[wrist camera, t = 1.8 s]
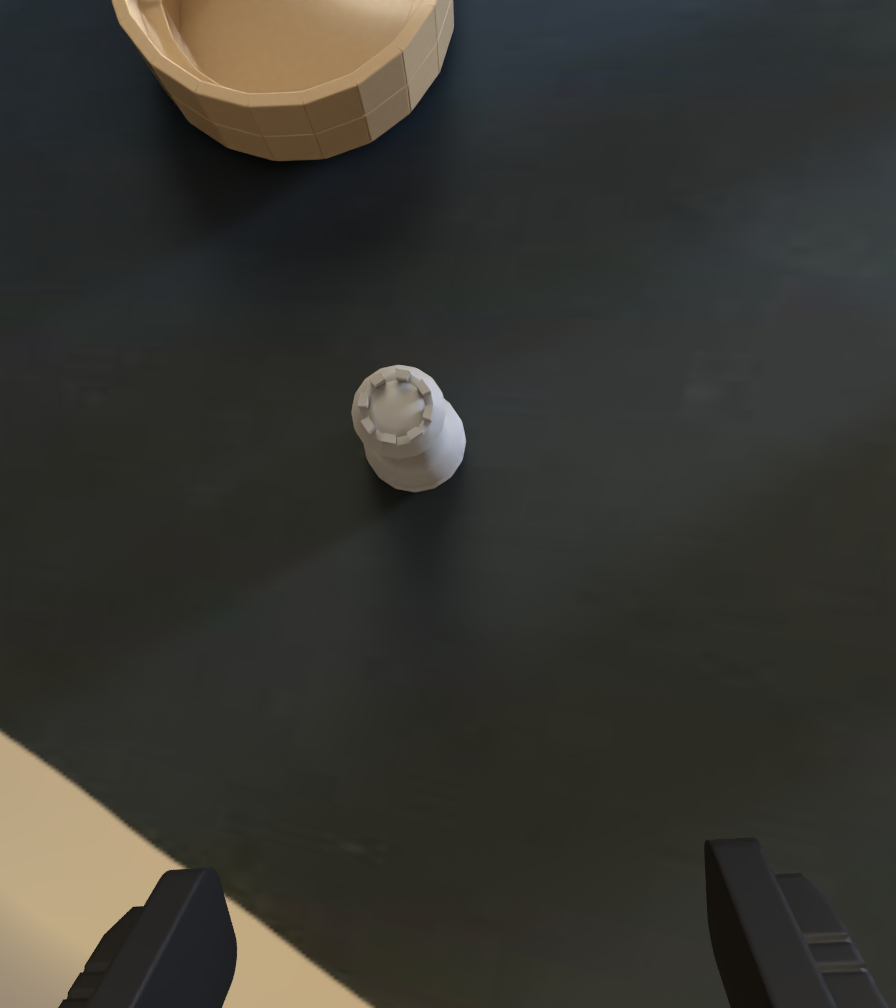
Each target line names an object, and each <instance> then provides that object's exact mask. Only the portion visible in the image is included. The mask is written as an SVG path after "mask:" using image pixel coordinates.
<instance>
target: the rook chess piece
mask: <svg viewBox="0 0 896 1008" xmlns="http://www.w3.org/2000/svg"><path fill="white" fill-rule="evenodd" d="M351 414H352V419H353V424H354V429H355V431H356V433H357V434H358V436H359V437H360V439H361V440H362V442H363V443H364V448H365V453H366V458H367V460H368V462H369V463H370V465H371V466H372V468H373V469H374V471H375V472H376V474H377V475H378V477H379V478H380V479H382V480H383V481H385V482H386V483H388V484H389V485H391V486H392V487H394V488H395V489H400V490H405V491H411V492H419V491H424V490H429V489H434V488H436V487H437V486H439V485H440V484H442V483H443V482H445V481H446V480H448V479H449V478H451V477H452V475H453V474H454V472H455V471H456V469H457V468H458V466H459V465H460V463H461V462H462V460H463V454H464V449H465V444H466V438H465V433H464V429H463V424H462V421H461V419H460V418H459V416H458V415H457V413H456V412H455V410H454V409H453V407H452V406H451V404H450V403H449V402H448V401H446V400H445V399H444V398H443V393H442V392H441V390H440V389H439V387H438V386H437V384H436V383H435V381H434V380H433V378H431V377H430V376H428V375H427V374H425V373H424V372H422V371H421V370H419V369H417V368H414V367H408V366H403V365H395V366H390V367H386V368H381V369H379V370H378V371H376V372H375V373H373V374H372V375H370V376H369V377H367V378H366V379H365V380H364V381H363V383H362V384H361V386H360V387H359V389H358V390H357V392H356V393H355V396H354V401H353V406H352V411H351Z"/></svg>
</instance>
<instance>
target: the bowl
mask: <svg viewBox="0 0 896 1008" xmlns="http://www.w3.org/2000/svg"><path fill="white" fill-rule="evenodd" d="M111 1H112V4H113V7H114V10H115V13H116V16H117V19H118V22H119V24H120V26H121V27H122V29H123V30H124V32H125V33H126V35H127V36H128V38H129V39H130V41H131V42H132V43H133V45H134V46H135V48H136V49H137V51H138V52H139V54H140V55H141V57H142V58H143V60H144V61H145V63H146V64H147V66H148V67H149V69H150V70H151V72H152V73H153V75H154V76H155V78H156V79H157V81H158V82H159V83H160V85H161V86H162V88H163V89H164V90H165V92H166V93H167V94H168V96H169V97H170V98H171V100H172V101H173V102H174V103H175V105H176V106H177V107H178V109H179V110H180V111H181V113H182V114H183V115H184V117H185V118H186V119H187V120H188V121H189V122H190V123H191V124H192V125H194V126H195V127H197V128H198V129H200V130H201V131H203V132H204V133H206V134H207V135H209V136H210V137H212V138H213V139H215V140H216V141H218V142H219V143H221V144H222V145H224V146H225V147H227V148H229V149H232V150H236V151H239V152H243V153H247V154H250V155H254V156H258V157H261V158H265V159H269V160H272V161H297V160H321V159H327V158H330V157H333V156H336V155H338V154H341V153H344V152H347V151H350V150H352V149H355V148H358V147H361V146H364V145H366V144H369V143H371V142H373V141H374V140H376V139H377V138H378V137H380V136H381V135H382V134H384V133H385V132H386V131H388V130H389V129H390V128H392V127H393V126H394V125H396V124H397V123H398V122H400V121H401V120H402V119H404V118H405V117H406V116H408V115H409V114H410V112H412V111H413V109H414V108H415V106H416V105H417V104H418V102H419V101H420V99H421V98H422V97H423V95H424V94H425V92H426V91H427V90H428V88H429V87H430V85H431V84H432V83H433V81H434V80H435V78H436V77H437V76H438V74H439V73H440V71H441V67H442V64H443V61H444V58H445V55H446V52H447V48H448V45H449V42H450V39H451V36H452V33H453V29H454V0H111Z"/></svg>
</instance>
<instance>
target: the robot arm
mask: <svg viewBox="0 0 896 1008" xmlns="http://www.w3.org/2000/svg"><path fill="white" fill-rule="evenodd" d="M704 854H705V874H706V894H707V914H708V925H709V932H710V937H711V943H712V947H713V952H714V956H715V959H716V963H717V966H718V969H719V973H720V976H721V979H722V982H723V985H724V988H725V991H726V994H727V997H728V1000H729V1003H730V1006H731V1008H889V1007H888V1005H887V1003H886V1001H885V999H884V998H883V996H882V994H881V992H880V990H879V988H878V987H877V985H876V983H875V981H874V979H873V977H872V976H871V974H870V972H867V970H866V967H865V963H864V961H863V959H862V957H861V956H860V954H859V952H858V950H857V948H856V946H855V945H854V943H853V942H851V940H850V936H849V934H848V932H847V930H846V928H845V926H844V925H843V923H842V921H841V919H840V917H839V915H838V914H837V912H836V910H835V908H834V906H833V904H832V903H831V901H830V900H829V899H828V898H827V897H826V896H824V895H823V894H822V893H821V892H820V891H819V890H818V889H817V888H816V887H815V886H814V885H813V884H811V883H810V882H809V881H808V880H807V879H806V878H805V877H804V876H803V875H802V874H801V873H797V874H778V875H774V873H773V871H772V869H771V867H770V865H769V862H768V860H767V858H766V856H765V854H764V852H763V850H762V848H761V846H760V844H759V842H758V841H757V839H756V838H754V837H753V838H736V839H719V840H706V841H705V845H704ZM236 959H237V943H236V937H235V933H234V929H233V926H232V922H231V919H230V915H229V911H228V908H227V904H226V900H225V897H224V893H223V890H222V886H221V882H220V879H219V876H218V873H217V872H216V870H215V869H213V868H197V869H180V870H169V871H167V872H166V873H164V874H163V875H162V877H161V878H160V880H159V881H158V883H157V885H156V886H155V888H154V890H153V891H152V893H151V895H150V896H149V898H148V900H147V901H146V903H145V905H144V906H140V907H132V908H131V909H130V910H129V911H128V912H127V913H126V914H125V915H124V916H123V917H122V918H121V919H120V920H119V921H118V922H117V923H116V924H115V925H114V926H113V927H112V928H111V929H110V930H109V931H107V933H106V934H104V936H103V937H102V939H101V941H100V942H99V944H98V945H97V947H96V949H95V950H94V952H93V953H92V955H91V957H90V958H89V960H88V961H87V963H86V964H85V969H84V972H83V973H80V974H79V976H78V977H77V979H76V980H75V982H74V984H73V985H72V987H71V988H70V990H69V992H68V997H67V999H66V1000H63V1001H62V1003H61V1004H60V1006H59V1007H58V1008H222V1006H223V1003H224V1000H225V998H226V995H227V993H228V991H229V988H230V986H231V983H232V980H233V976H234V972H235V967H236Z"/></svg>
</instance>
